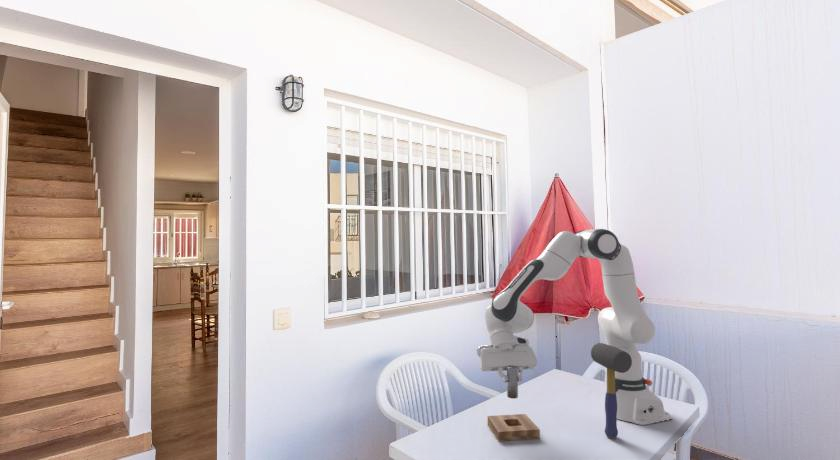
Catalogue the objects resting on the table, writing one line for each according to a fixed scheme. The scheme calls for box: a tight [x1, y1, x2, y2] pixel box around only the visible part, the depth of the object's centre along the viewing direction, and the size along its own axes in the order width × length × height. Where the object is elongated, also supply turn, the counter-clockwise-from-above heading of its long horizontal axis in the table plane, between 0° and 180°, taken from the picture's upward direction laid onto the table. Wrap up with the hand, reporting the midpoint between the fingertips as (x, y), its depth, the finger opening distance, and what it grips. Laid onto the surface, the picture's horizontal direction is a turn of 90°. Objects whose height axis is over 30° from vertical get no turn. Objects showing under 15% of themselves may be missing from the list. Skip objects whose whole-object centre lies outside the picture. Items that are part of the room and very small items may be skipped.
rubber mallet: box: [590, 342, 632, 439], centre depth 135 cm, size 12×8×30 cm, turn 14°
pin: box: [506, 365, 519, 400], centre depth 139 cm, size 4×4×10 cm
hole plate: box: [487, 413, 541, 442], centre depth 139 cm, size 14×12×3 cm
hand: (513, 381), depth 138 cm, fingers closed on pin, 4 cm apart
